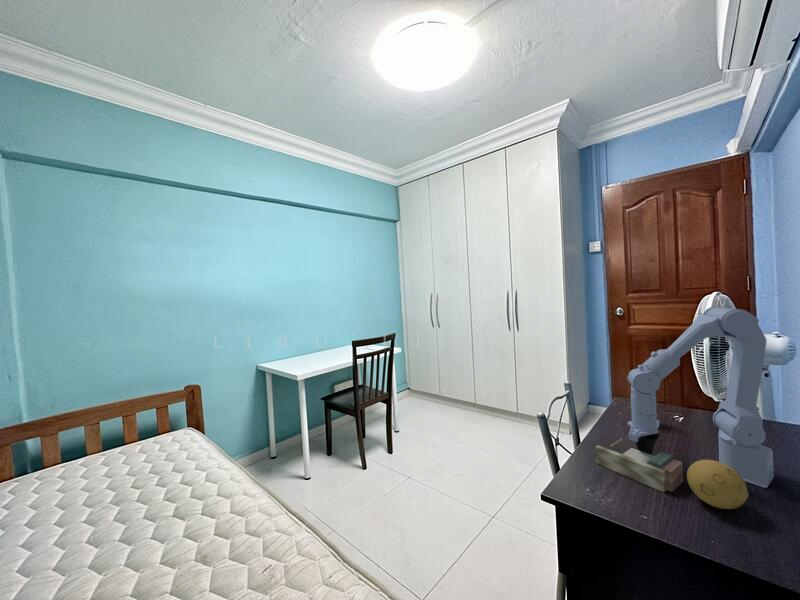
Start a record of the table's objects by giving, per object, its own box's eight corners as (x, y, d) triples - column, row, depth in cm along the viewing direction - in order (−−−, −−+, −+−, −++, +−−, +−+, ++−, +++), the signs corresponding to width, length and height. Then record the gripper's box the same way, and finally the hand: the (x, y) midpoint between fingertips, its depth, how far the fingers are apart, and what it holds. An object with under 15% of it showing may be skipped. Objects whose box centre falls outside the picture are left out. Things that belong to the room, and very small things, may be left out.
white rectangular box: (657, 469, 87) (656, 456, 86) (643, 479, 82) (643, 467, 82) (632, 459, 92) (631, 447, 92) (618, 469, 88) (617, 457, 88)
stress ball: (683, 494, 78) (678, 484, 72) (696, 458, 80) (692, 445, 74) (741, 523, 70) (741, 515, 64) (753, 482, 72) (754, 470, 66)
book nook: (683, 481, 81) (682, 459, 80) (669, 494, 76) (668, 471, 76) (607, 452, 96) (606, 433, 96) (592, 461, 92) (591, 442, 92)
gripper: (639, 401, 96) (640, 443, 97) (615, 414, 89) (617, 460, 90) (667, 407, 90) (669, 453, 91) (644, 422, 83) (646, 471, 83)
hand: (645, 457), depth 90 cm, fingers closed
